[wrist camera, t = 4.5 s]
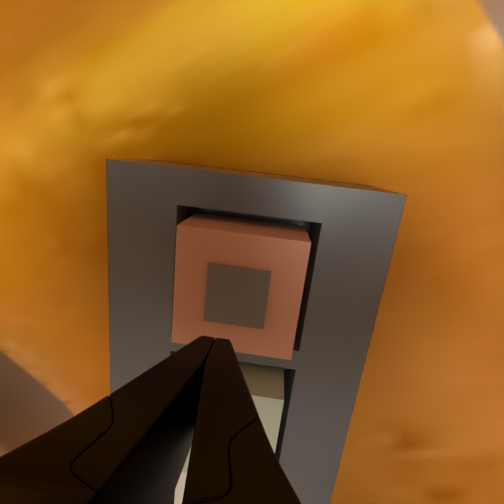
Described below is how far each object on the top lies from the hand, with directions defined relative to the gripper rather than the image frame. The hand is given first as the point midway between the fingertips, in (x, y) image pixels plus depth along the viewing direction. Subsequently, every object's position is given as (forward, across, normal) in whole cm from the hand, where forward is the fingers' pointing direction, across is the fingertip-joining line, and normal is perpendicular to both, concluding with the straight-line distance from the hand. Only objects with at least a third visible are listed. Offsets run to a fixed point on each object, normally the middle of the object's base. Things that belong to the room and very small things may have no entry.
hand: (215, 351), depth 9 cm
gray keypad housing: (+10, 0, +7) cm, 12 cm away
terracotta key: (+7, 0, 0) cm, 7 cm away
